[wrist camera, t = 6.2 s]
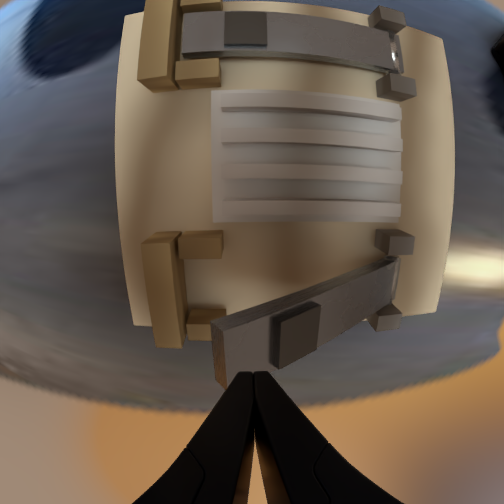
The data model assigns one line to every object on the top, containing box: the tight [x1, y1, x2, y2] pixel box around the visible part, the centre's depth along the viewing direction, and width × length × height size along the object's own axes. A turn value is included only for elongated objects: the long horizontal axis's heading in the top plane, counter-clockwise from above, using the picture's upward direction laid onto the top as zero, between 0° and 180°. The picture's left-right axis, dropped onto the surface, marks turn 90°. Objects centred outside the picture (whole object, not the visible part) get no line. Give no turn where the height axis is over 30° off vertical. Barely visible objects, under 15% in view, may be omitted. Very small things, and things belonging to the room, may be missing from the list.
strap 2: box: [210, 254, 401, 390], centre depth 12 cm, size 12×3×1 cm
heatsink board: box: [115, 0, 455, 348], centre depth 13 cm, size 20×19×4 cm
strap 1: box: [182, 11, 404, 75], centre depth 11 cm, size 12×3×1 cm, turn 90°
